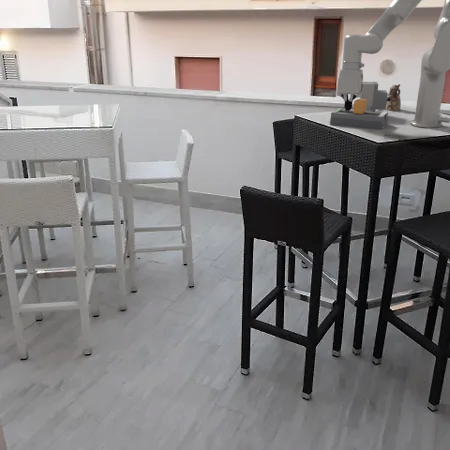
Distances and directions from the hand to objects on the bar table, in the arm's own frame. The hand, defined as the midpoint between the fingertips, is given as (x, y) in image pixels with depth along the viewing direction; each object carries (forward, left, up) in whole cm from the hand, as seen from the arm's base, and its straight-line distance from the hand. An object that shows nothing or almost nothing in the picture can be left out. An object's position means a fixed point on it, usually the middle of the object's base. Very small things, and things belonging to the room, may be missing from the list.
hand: (347, 110), depth 212 cm
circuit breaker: (-6, -20, -6) cm, 22 cm away
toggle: (-5, 0, -3) cm, 6 cm away
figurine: (-12, -39, -6) cm, 41 cm away
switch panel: (-5, 0, -6) cm, 8 cm away
